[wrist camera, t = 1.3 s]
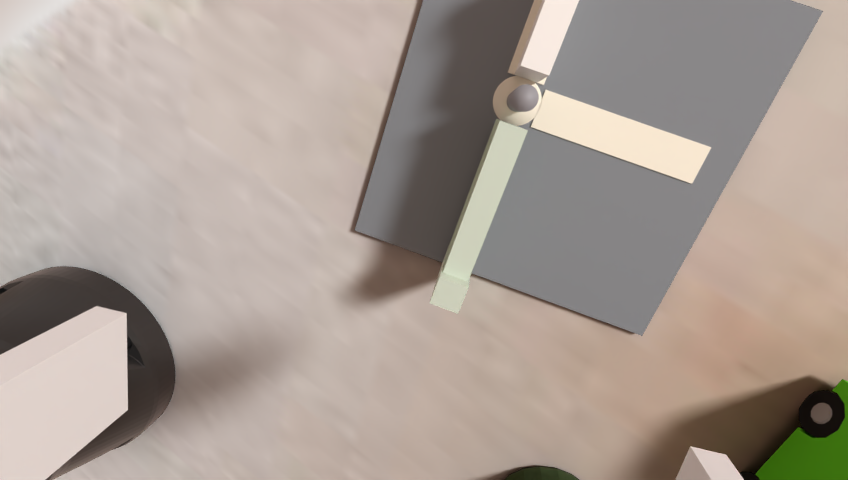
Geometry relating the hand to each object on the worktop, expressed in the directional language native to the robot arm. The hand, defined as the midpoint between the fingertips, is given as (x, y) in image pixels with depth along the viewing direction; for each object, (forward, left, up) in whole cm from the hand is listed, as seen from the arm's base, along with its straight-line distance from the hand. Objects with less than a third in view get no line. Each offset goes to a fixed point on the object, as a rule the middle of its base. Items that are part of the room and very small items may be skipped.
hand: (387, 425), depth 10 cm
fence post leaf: (+1, +12, -20) cm, 23 cm away
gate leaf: (+1, +2, -19) cm, 19 cm away
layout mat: (+4, +7, -20) cm, 22 cm away
